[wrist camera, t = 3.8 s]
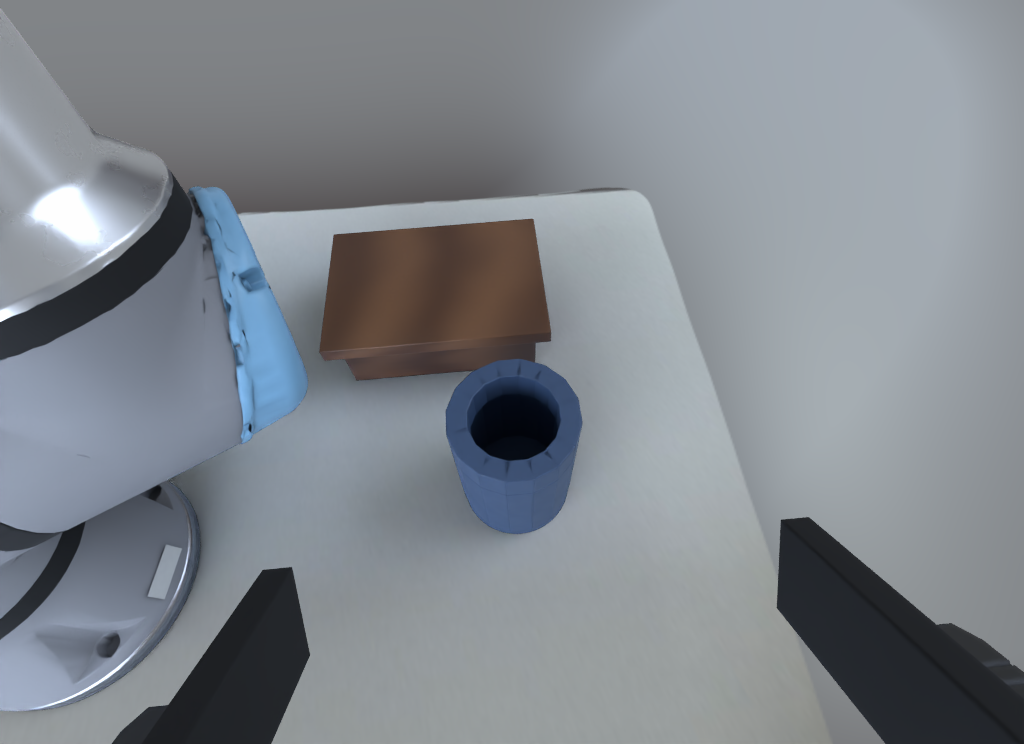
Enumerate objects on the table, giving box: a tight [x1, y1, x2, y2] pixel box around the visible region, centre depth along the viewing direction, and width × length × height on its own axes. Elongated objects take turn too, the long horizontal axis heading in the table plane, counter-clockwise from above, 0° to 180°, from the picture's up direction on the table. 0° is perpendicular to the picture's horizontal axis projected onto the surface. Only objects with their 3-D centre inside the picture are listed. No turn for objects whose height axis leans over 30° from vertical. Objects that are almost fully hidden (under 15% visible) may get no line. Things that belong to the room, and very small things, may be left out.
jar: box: [446, 359, 582, 534], centre depth 34 cm, size 8×8×11 cm
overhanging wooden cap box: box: [319, 219, 551, 380], centre depth 44 cm, size 17×12×6 cm
